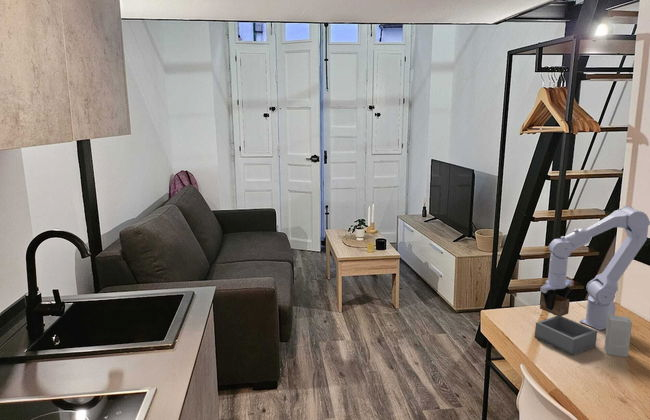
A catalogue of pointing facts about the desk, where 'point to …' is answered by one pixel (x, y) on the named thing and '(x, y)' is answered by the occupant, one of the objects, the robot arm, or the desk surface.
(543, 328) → the big crate
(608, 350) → the skincare box
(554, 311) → the small crate
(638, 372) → the desk surface
